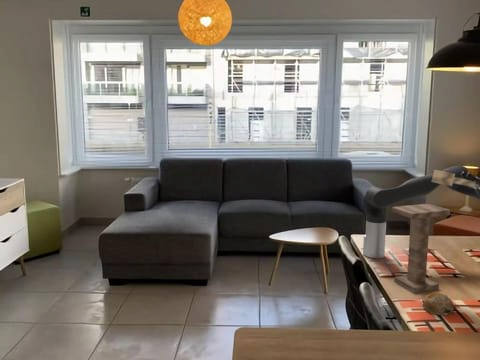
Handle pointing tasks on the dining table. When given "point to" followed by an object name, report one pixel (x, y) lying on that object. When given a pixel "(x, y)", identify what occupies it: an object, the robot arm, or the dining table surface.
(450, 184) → the mallet
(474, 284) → the dining table surface
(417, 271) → the stand
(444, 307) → the bread roll
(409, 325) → the dining table surface
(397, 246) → the dining table surface
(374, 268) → the dining table surface
